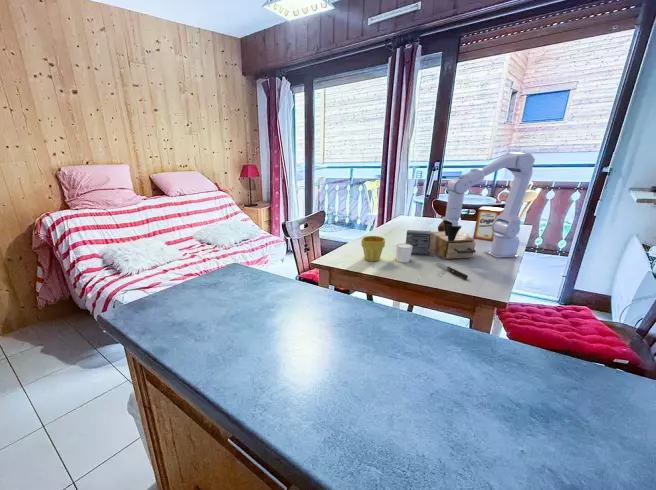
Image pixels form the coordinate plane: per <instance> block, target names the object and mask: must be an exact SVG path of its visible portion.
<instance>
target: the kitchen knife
mask: <svg viewBox="0 0 656 490" xmlns="http://www.w3.org/2000/svg"><path fill="white" fill-rule="evenodd" d="M434 264H436V266H438V267H440V268H441V269H443V270H446V271H447V272H450V273H451V274H453V275H454V276H457V277H460V278H461V279H463V280H464V281H467V280H468V278H469V277H468V276H469V275H467V274H466V273H463V272H462V271H459V270H457V269H456V268H453V267H451V266H449V265H448V266H447V265H446V264H443V262H442V263H441V262H435V263H434Z"/></svg>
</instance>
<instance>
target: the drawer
mask: <svg viewBox="0 0 656 490" xmlns="http://www.w3.org/2000/svg"><path fill="white" fill-rule="evenodd" d="M475 247H476V242H475V241H474V242H470V241H464V242H447V249H446V255H445V256H446V258H447V259H446V260H449V259H450V258H452V259H466V258H467V259H468V257H469V258H474V254H476V252H477V251H476V249H475Z"/></svg>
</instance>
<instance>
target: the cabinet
mask: <svg viewBox="0 0 656 490" xmlns="http://www.w3.org/2000/svg"><path fill="white" fill-rule="evenodd" d="M464 241H470V242H475V238H473V237H470V236H468V235H466V234H464V233H463V232H460V231H458V233H457V235H456V237H455V239H454V241H448V236H445V231H443V232H439V231H431V237H430V246H429V251H431V252H432V253H433V254H435V255H437V256H438V257H440V258H441V259H442V260H448V259H447V258H446V256H445V255H446V249H447V242H464ZM468 258H470V257H468ZM468 258H467V259H468ZM450 259H451V260H452V259H453V258H450Z"/></svg>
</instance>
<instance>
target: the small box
mask: <svg viewBox="0 0 656 490" xmlns="http://www.w3.org/2000/svg"><path fill="white" fill-rule="evenodd" d="M431 232H432V231H431V230H419V229H418V230H415V229H407V230H406V237H405V244H410V245H412V246H413V247H412V252H411V255H417V256H429V252H430V250H429V246H430V237H431Z"/></svg>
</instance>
